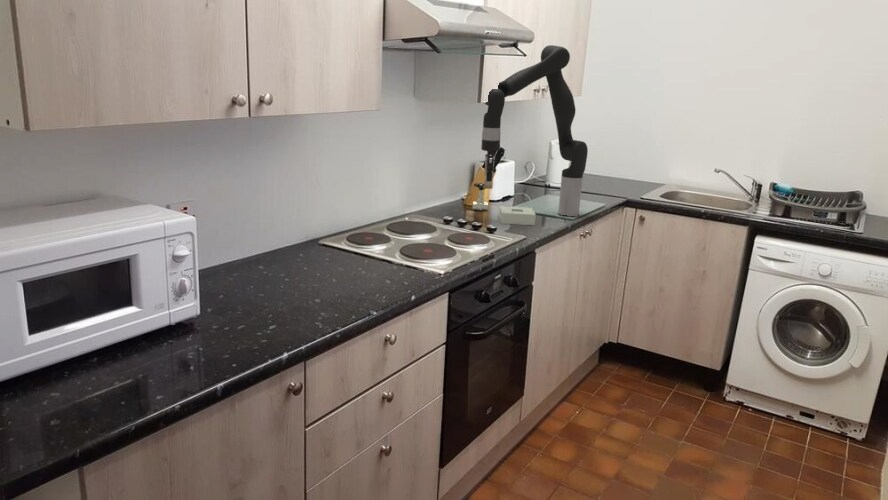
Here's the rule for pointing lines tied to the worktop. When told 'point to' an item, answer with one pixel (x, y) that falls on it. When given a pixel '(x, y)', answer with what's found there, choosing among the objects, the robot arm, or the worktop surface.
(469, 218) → the short pin
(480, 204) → the valve
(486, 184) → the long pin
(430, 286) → the worktop surface
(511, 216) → the pale green slotted block
